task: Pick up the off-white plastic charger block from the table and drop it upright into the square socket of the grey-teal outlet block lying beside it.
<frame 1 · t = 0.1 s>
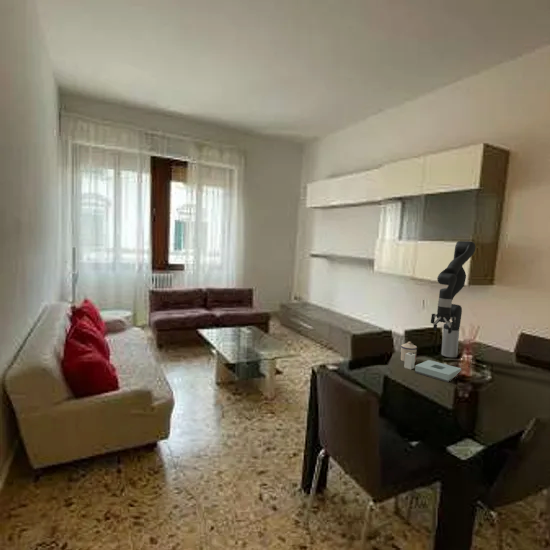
hand: (442, 332, 228), 17 cm above the table, tool pointing down, fingers open, 8 cm apart
charger: (409, 367, 212), on the table
teacup with lid: (409, 360, 226), on the table
outlet block: (437, 374, 203), on the table
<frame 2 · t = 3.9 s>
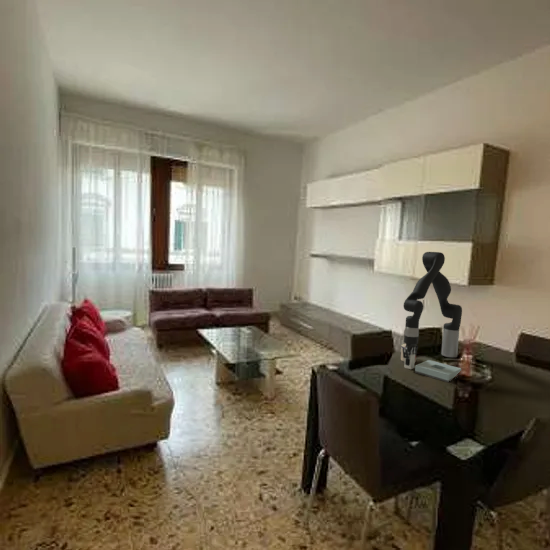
hand: (409, 364, 212), 2 cm above the table, tool pointing down, fingers closed on charger, 4 cm apart
charger: (409, 367, 212), on the table, touching gripper
everything else where it was.
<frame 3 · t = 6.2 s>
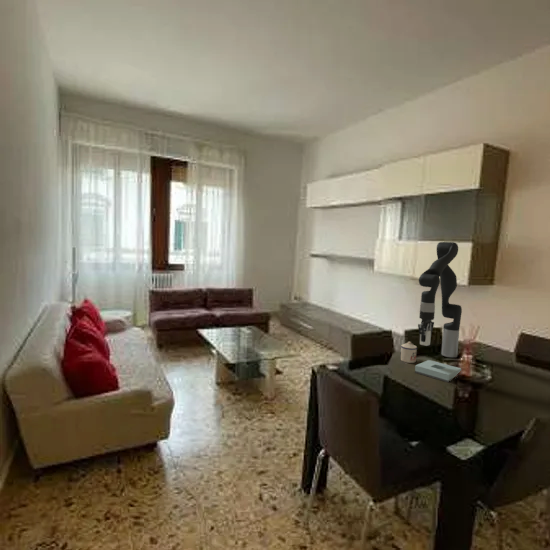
hand: (425, 340, 206), 17 cm above the table, tool pointing down, fingers closed on charger, 4 cm apart
charger: (424, 344, 207), point 15 cm above the table, touching gripper
everything else where it was.
when the fingers open (5 cm above the table, at t = 8.8 s): charger drops 2 cm, resting on outlet block.
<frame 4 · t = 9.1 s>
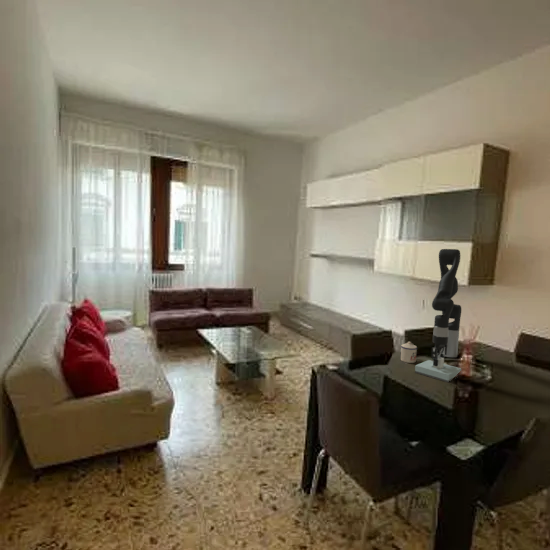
hand: (438, 364, 203), 5 cm above the table, tool pointing down, fingers open, 7 cm apart
charger: (437, 372, 203), point 1 cm above the table, touching outlet block
everything else where it was.
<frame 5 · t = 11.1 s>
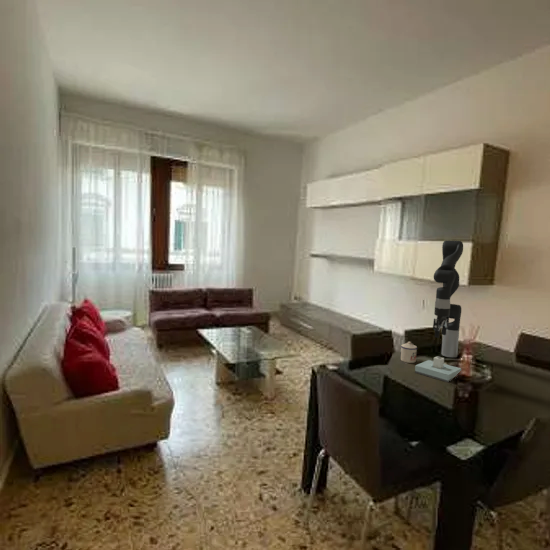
hand: (440, 336, 203), 21 cm above the table, tool pointing down, fingers open, 8 cm apart
nothing on the table moved.
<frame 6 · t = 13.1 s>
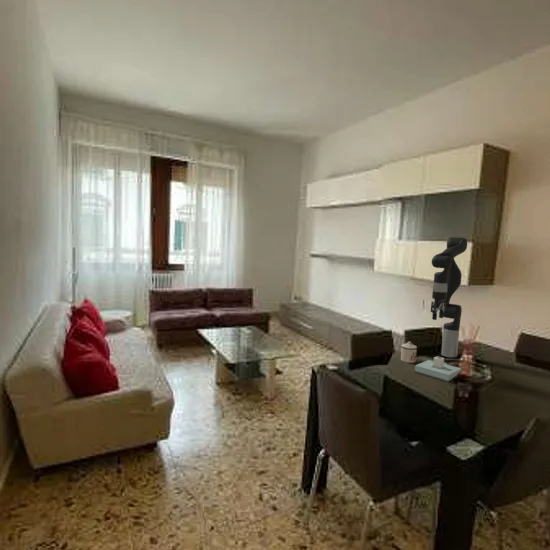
hand: (437, 318, 213), 28 cm above the table, tool pointing down, fingers open, 8 cm apart
nothing on the table moved.
at the end: charger 0.1 cm off-centre on the outlet block, point 1.0 cm above the outlet block's base; charger tilted 0°; the gripper is holding nothing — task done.
